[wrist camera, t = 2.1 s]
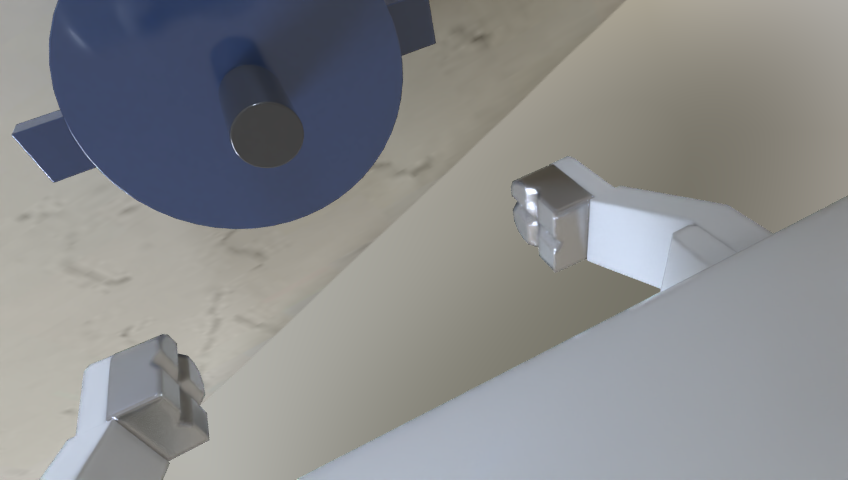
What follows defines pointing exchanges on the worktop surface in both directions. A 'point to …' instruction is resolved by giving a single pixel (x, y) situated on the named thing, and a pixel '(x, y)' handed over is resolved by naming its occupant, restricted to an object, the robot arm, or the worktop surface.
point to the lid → (228, 100)
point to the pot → (65, 158)
